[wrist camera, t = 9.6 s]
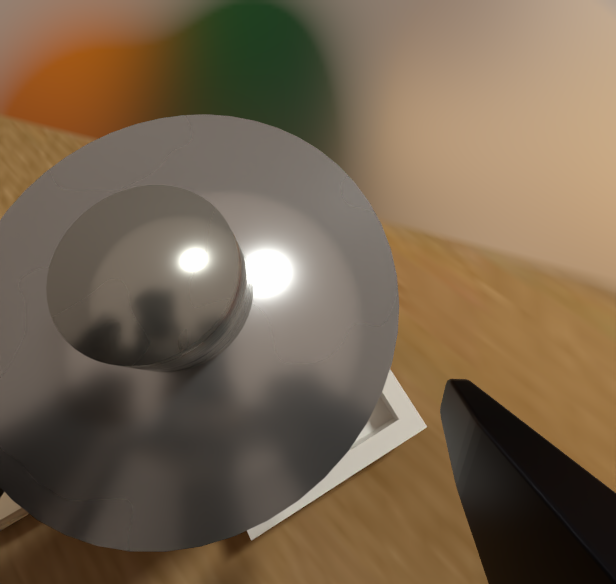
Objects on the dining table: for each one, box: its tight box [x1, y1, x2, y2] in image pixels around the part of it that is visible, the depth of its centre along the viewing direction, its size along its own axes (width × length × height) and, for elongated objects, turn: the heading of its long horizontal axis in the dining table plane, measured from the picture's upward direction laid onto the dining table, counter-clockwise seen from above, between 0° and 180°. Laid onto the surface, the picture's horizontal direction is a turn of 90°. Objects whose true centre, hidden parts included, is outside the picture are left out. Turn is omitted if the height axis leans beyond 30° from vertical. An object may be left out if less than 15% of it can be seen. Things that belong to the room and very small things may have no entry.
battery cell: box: [0, 115, 399, 552], centre depth 10 cm, size 5×5×13 cm
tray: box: [247, 370, 427, 541], centre depth 16 cm, size 10×8×2 cm
